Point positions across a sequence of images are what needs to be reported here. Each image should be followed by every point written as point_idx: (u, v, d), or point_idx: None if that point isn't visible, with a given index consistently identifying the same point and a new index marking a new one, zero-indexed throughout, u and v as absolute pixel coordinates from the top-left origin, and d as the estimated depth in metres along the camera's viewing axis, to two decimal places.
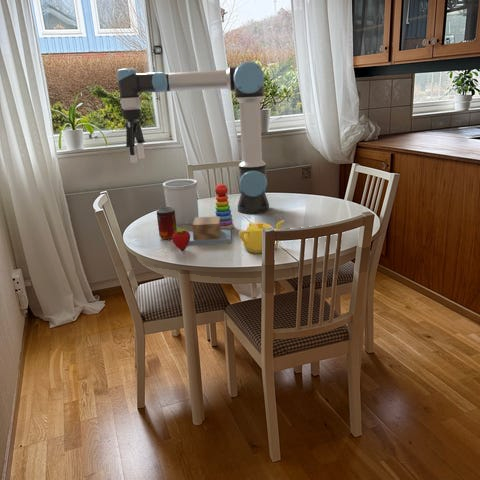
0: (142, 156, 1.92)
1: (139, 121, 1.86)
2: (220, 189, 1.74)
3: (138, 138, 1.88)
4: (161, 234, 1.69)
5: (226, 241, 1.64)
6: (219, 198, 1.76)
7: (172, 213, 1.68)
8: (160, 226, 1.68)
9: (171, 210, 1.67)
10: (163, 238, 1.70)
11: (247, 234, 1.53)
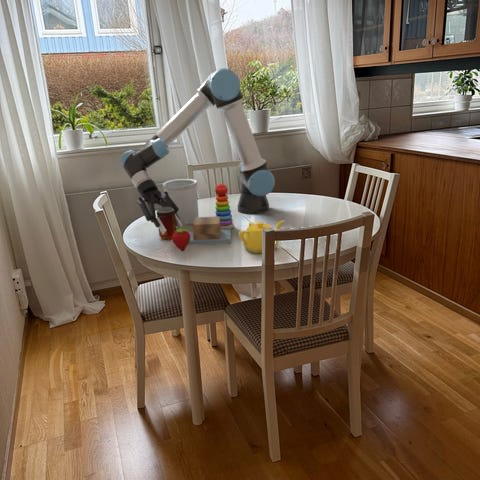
0: None
1: (165, 192, 1.76)
2: (220, 189, 1.74)
3: None
4: (161, 234, 1.69)
5: (226, 241, 1.64)
6: (219, 198, 1.76)
7: (172, 213, 1.68)
8: None
9: (171, 210, 1.67)
10: (163, 238, 1.70)
11: (247, 234, 1.53)
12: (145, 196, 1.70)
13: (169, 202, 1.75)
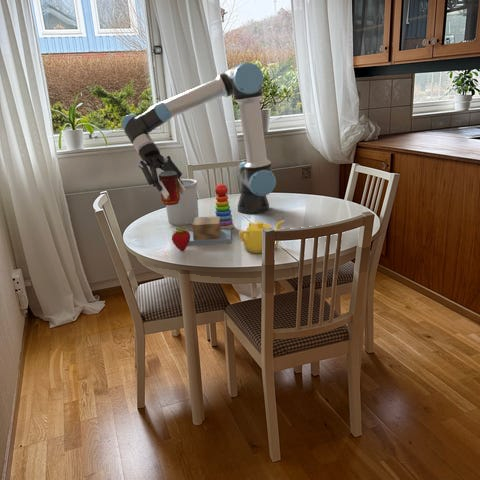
0: (182, 190, 1.66)
1: (168, 156, 1.71)
2: (220, 189, 1.74)
3: None
4: (163, 199, 1.64)
5: (226, 241, 1.64)
6: (219, 198, 1.76)
7: (175, 176, 1.62)
8: None
9: (174, 173, 1.62)
10: (166, 203, 1.65)
11: (247, 234, 1.53)
12: (147, 160, 1.65)
13: (172, 167, 1.70)
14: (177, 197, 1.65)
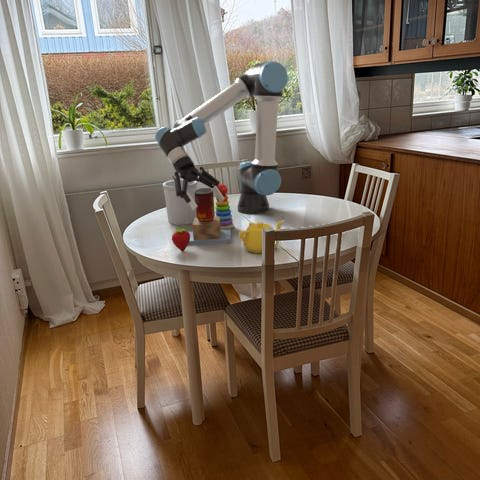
0: (221, 198, 1.68)
1: (201, 167, 1.70)
2: (220, 189, 1.74)
3: (208, 184, 1.69)
4: (199, 216, 1.64)
5: (226, 241, 1.64)
6: None
7: (211, 194, 1.62)
8: (198, 208, 1.63)
9: (210, 191, 1.62)
10: (201, 220, 1.64)
11: (247, 234, 1.53)
12: (182, 173, 1.64)
13: (208, 177, 1.71)
14: (212, 214, 1.64)
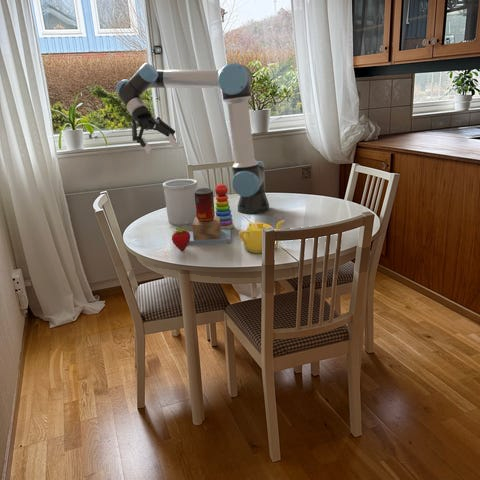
0: (175, 145, 1.82)
1: (158, 117, 1.85)
2: (220, 189, 1.74)
3: (164, 132, 1.84)
4: (199, 216, 1.64)
5: (226, 241, 1.64)
6: (219, 198, 1.76)
7: (211, 194, 1.62)
8: (198, 208, 1.63)
9: (210, 191, 1.62)
10: (201, 220, 1.64)
11: (247, 234, 1.53)
12: (139, 120, 1.79)
13: (164, 126, 1.86)
14: (212, 214, 1.64)
